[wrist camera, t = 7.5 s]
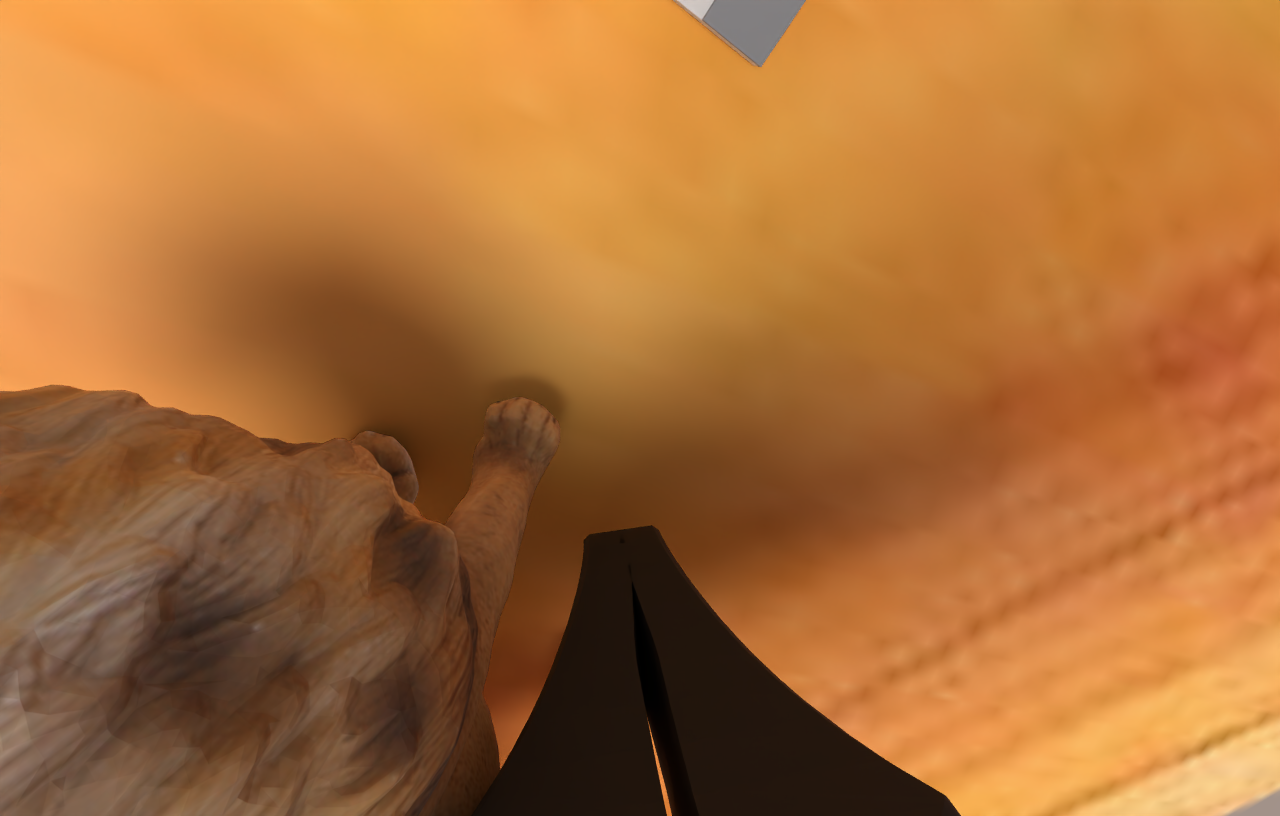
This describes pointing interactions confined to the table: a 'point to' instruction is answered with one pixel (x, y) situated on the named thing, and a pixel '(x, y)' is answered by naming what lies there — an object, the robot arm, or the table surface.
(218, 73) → the table surface
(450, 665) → the lion figurine
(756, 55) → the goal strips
